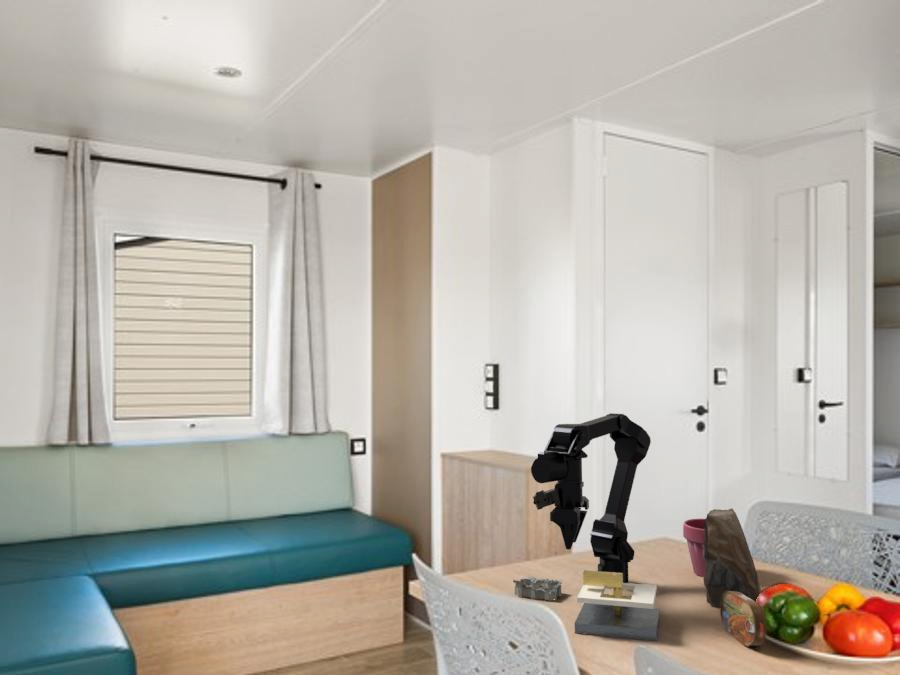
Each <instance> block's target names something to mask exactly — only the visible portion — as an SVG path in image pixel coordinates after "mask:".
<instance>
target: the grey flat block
mask: <svg viewBox="0 0 900 675" xmlns="http://www.w3.org/2000/svg"><path fill="white" fill-rule="evenodd" d="M660 620H661V610H660V608H659V607H658V608H656V607H654V608H653V609H649V608H637V607H625V606H623V615H622V616H616V615H614V606H613V605H602V604H590V603H582V606H581V608H580V610H579V613H578V615H577V617H576V619H575V622H574V633H575V634H581V633H585V634H584V635H592V634H594V635H593V636H602V635H604V636H603V637H614V638H622V639H623V638H625V639H635V640H642V641H643V640H645V641H657V640H658V633H659V632H658V631H659V627H660V626H659V625H660ZM595 634H596V635H595Z"/></svg>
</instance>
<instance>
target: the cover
mask: <svg viewBox="0 0 900 675" xmlns="http://www.w3.org/2000/svg"><path fill="white" fill-rule="evenodd" d="M657 586H658V585H656V584H645V583H644V584H642V583H641V584H640V583H633V582H632V583H631V582H630V583H623V587H622V591H625V590H626V591H633V592H632V595H631V596H632V598H631V600H629V599H617V598H605V597H602V596H603V594H605V590H606V589H612V590H613V587H603V586H590V585H582V587H581V589H580V591H579V593H578V594H577V597H576V603H578V604H579V603H580V604H584V603H590V604H602V605H613V606H625V607H637V608H649V609H653V608H655V603H656V602H655V601H656V596H657V591H658V588H657Z"/></svg>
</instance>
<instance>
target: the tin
mask: <svg viewBox="0 0 900 675" xmlns="http://www.w3.org/2000/svg"><path fill="white" fill-rule="evenodd" d="M719 613H720V619H721V624H722V626H723V628H724V630H725V632H726V633H727V634H729V636H731V637H732V638H734V639H735V640H736V641H738V642H739V643H740V644H742V645H743V646H744V647H759V646H760V647H761V646H762V645H763V644H764V643H765V641H766V634H767V619H766V614H765V611H764V610H763V608H762V607H761V606H760V605H759V604H758V603H757V602H755V601H754V600H752V599H750V598H749V597H747V596H745V595H744V594H742V593H740V592H736V591H725V592H724V593H723V595H722V597H721V602H720V608H719Z"/></svg>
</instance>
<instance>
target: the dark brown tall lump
mask: <svg viewBox="0 0 900 675" xmlns="http://www.w3.org/2000/svg"><path fill="white" fill-rule="evenodd" d="M705 519H706V520H705V522H704V525H705V528H704V531H705V544H704V549H705V551H704V558H705V565H706V571H705V573H704V577H703V585H704V588H705V591H706V594H705V595H706V602H707V604H709V605H710V606H711V608H714V609H715V608H716V609H720V602H721V597H722V595H723V593H724V592H725V591H736V592H740V593H742V594H744V595H745V596H747V597H749V598H750V599H752V600H754V601H755V602H756V599H757V597H758V596H759V594H760V593H761V592H762V589H761V586H760V582H759V577H758V576H759V575H758V573H757V570H756V569H757V568H756V567H755V562H754V560H753V556H752V553H751V550H750V548H749V544H748V541H747V538H746V535H745V532H744V529H743V527H742V524H741V522H740V519H739V517H738V515H737V513H736V512H735V510H734V508H731V507H730V508H729V509H720V508H718V509H715V508H714V509H712V510H710V511H709V512H708V513H707V514H706V518H705Z"/></svg>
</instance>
